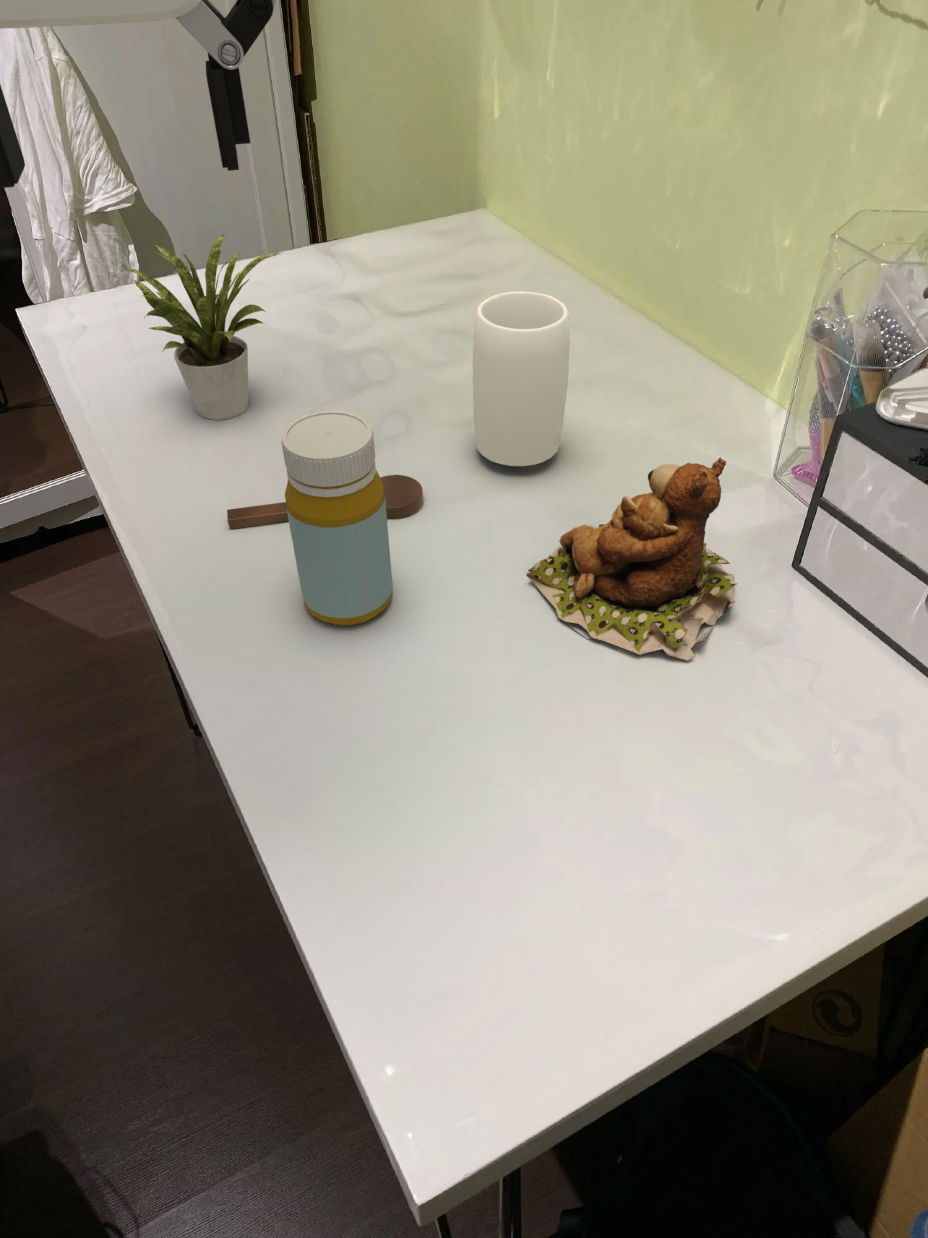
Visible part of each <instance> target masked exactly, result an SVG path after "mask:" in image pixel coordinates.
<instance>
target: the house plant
mask: <svg viewBox="0 0 928 1238" xmlns="http://www.w3.org/2000/svg"><path fill="white" fill-rule="evenodd" d="M225 237H226V232H224V233H222V234H221V235H220V236H219V237H217V239H215V241H214V242H213V244H212V246H211V248H210V251H209V254H208V257H207V261H206V266H205V272H204V277H205V292H204V289H203V286H202V283H201V281H200V277H199V275H198V272H197V270H196V268H195V266H194V264H193V263H192V262H193V261H191V259H190V258H189V257H188V255H186V254H185V253H183V252H181V253H182V255H183V256H184V257H185V259H186V261H187V263H188V265H189V267H190V268H188V267H187V265H186V264H185V263H184V262H183V260H182V259H181V258H180V257H178V256H177V255H175V254H174V253H172V252H170V251H169V250H167V249H165V248H163V247H162V246H159V245H157V244H155V243H153V245H154V247H155V248H156V249H157V250H158V251H159V252H160V253H159V252H158V251H156V250H154V252H155V253H156V254H158V255H160V256H161V257H162V258H164V259H166V260H167V261H168V262H169V263H171V264H172V266H173V268H175V271H176V273H177V274H178V276H179V279H180V280H181V284H182V286H183V288H184V290H185V292H186V294H187V296H188V298H189V300H190V303H191V305H192V308H193V309H194V311H195V313H196V316H197V318H198V320H199V322H198V321H197V320H196V319H195V318H194V316H193V315H191V314H190V313H189V311H188V310H187V309H186V308H185V307H184V306H183V304H182V303H181V301H179V300H178V298H177V297H176V296H175V294H173V292H172V291H170V289H168V288H167V287H166V286H165V285H164V284H162V282H160V281H159V280H157V279H156V278H154V277H152V276H150V275H148V274H145V273H144V272H142V271H140V270H137V269H135V268H128V267H122V268H123V269H125V270H127V271H130V272H131V273H133V274H135V275H136V276H138V277H140V278H142V279H143V280H144V281H145V282H147V283H148V284H150V285H151V286H152V287H153V288H154V289H155V290H157V291H155V292H154V291H152V290H151V288H149V287H148V286H147V285H145V283H142V282H140V281H138V280H136V279H133V281H134V283H135V285H136V287H137V288H138V289H139V290H140V291H141V293H142V294H143V295H142V297H144V299H145V300H146V302H147V304H149V306H151V308H152V310H150V311H148V312H147V313H146V314H145V315H144V316H143V317H144V318H143V319H144V320H145V318H146V317H149V316H151V317H152V316H153V317H159V318H162V319H164V320H166V322H167V323H168V324H169V325H170V326H167V325H165V326H164V325H160V326H152V327H148V329H149V330H153V331H159V332H161V331H162V332H166V333H167V334H168V333H169V334H172V335H176V336H180V337H181V338H182V340H183V342H182V343H181V342H178V341H175V340H170V341H168V342H167V343H166V344H165V346H164V347H163V349H162V351H161V353H163V352H164V351H166V350H168V349H174V348H175V350H174V351H173V359H174V361H175V363H176V365H177V367H178V370H179V372H180V374H181V377H182V379H183V381H184V384H185V387H186V389H187V391H188V393H189V395H190V398H191V400H192V403H193V405H194V407H195V409H196V412H197V413H198V415H199V416H200V417H202V418H204V419H206V420H212V421H213V420H214V421H223V420H230V419H232V418H235V417H237V416H239V415H241V414H243V413H244V412H246V410H247V409H249V354H248V353H249V351H248V350H249V349H248V344H247V343H246V341H244V339H242V338H241V337H239V336H236V335H235V334H236V333H237V332H239V331H241V330H244V329H247V328H249V327H252V326H254V325H258V324H264V325H266V323H264V322H263V321H261V320H259V319H257V318H252V317H251V318H245V317H246V316H248V315H251V314H254V313H257V312H263V313H267V311H266V310H265V309H263V308H262V307H261V306H259V305H256V304H252V303H251V304H247V305H245V306H243V307H242V308H240V309H239V310H238V311H237V312H236V313H235V315H234V316H233V317H232V319H231V321H230V323H229V326H228V329H227V330H226V321H227V316H228V312H229V310H230V307H231V305H232V304H233V302H234V300H235V299H236V298H237V296H238V295H239V294H240V292H241V290H242V289H243V287H244V286H245V285H246V284H247V283H248V282H249V281H250V278H248V279H247V280H246V281H245V282H243V281H244V279H245V278H246V276H247V275H248V274H249V273H250V272H251V271H252V269H254V268H255V267H256V266H257V265H258V264H260V263H261V262H262V261H265V260H266V259H269V258H272V257H276V256H278V255H281V254H282V252H275V253H268V254H264V255H261V256H259V257H257V258H255V259H253V260H251V261H250V262H249V263H247V265H246V266H245V267H244V268H243V269H242V270H241V271H239V272H238V273H236V274H235V277H234V279H233V278H232V276H233V272H234V271H235V267H236V262H237V261H238V258H239V256H241V255H240V254H241V252H238V253H236V254H235V255H234V256H233V257H232V258H231V259H229V260H227V261H225V262H224V263H223V265H222V266H221V267H220V270H219V273H218V274H217V270H218V265H219V261H220V257H221V252H222V244H223V241H224V239H225ZM226 265H227V267H226V270H225V273H224V276H223V281H222V286H221V288H220V290H219V292H218V293H217V288H218V283H219V278H220V274H221V271H222V270H223V268H224V267H225V266H226ZM189 269H190V270H189ZM216 278H217V279H216ZM242 282H243V283H242ZM230 290H231V291H230ZM229 292H230V293H229ZM156 294H157V295H156ZM158 296H159V297H158ZM243 318H244V319H243Z"/></svg>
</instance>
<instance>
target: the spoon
mask: <svg viewBox="0 0 928 1238" xmlns="http://www.w3.org/2000/svg"><path fill="white" fill-rule="evenodd" d="M380 478H381V480H382V482H383V485H384V492H385V501H386V513H387V519H391V520H394V519H404V518H407V517H410V516H412V515H415V514H416V513H417V512H418V511H419V510H420V509H421V508H422V506H423V504H424V490H423V486H422V485H421V483H420V482H419V481H418V480H417V479H415V478H414V477H411V476H408V475H403V474H390V475H384V476H380ZM226 515H227V524H228V528H229V530H234V529H242V528H248V527H249V528H251V527H256V526H257V527H258V526H263V525H272V524H278V523H279V524H280V523H286V522H289V519H288V514H287V508H286V501H283V502H276V503H268V504H261V505H259V504H258V505H253V506H252V505H251V506H245V507H237V508H229V509H226Z"/></svg>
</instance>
